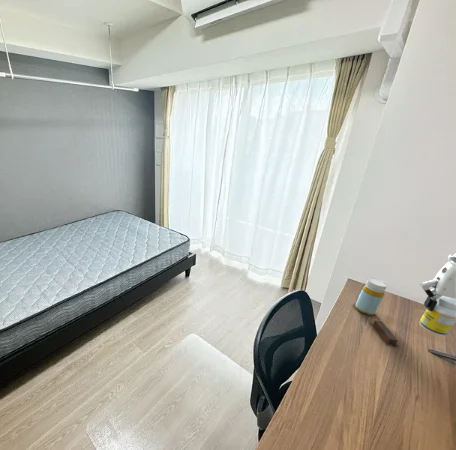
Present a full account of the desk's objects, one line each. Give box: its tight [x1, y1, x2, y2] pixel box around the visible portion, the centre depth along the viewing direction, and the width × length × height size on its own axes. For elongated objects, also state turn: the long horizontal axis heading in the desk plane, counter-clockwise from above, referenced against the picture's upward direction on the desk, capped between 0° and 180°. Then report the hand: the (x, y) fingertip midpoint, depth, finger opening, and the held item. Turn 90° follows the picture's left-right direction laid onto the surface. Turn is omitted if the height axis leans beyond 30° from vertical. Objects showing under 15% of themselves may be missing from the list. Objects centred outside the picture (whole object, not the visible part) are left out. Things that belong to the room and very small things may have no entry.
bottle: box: [354, 277, 388, 316], centre depth 105 cm, size 7×7×15 cm
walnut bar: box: [372, 319, 399, 346], centre depth 95 cm, size 10×2×2 cm, turn 166°
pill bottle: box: [418, 296, 456, 336], centre depth 77 cm, size 6×6×12 cm
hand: (442, 311), depth 77 cm, fingers closed on pill bottle, 6 cm apart
